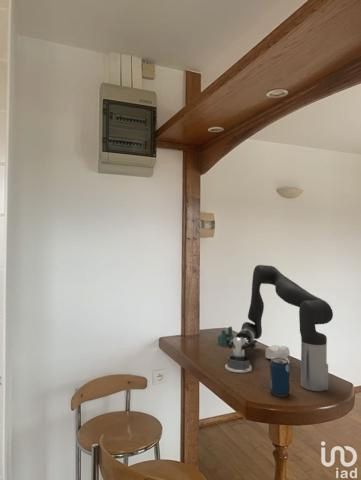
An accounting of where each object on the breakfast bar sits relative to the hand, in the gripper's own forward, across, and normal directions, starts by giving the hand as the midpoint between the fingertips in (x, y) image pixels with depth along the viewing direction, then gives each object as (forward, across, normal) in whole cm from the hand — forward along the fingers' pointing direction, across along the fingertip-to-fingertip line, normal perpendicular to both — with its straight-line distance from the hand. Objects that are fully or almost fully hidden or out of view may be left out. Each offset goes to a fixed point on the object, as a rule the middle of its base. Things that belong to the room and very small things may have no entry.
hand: (237, 347), depth 153 cm
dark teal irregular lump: (-37, -14, +10) cm, 41 cm away
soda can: (+17, +20, +10) cm, 28 cm away
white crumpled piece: (-19, +15, +10) cm, 26 cm away
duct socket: (-2, 0, +10) cm, 10 cm away
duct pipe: (-3, 0, +9) cm, 9 cm away
